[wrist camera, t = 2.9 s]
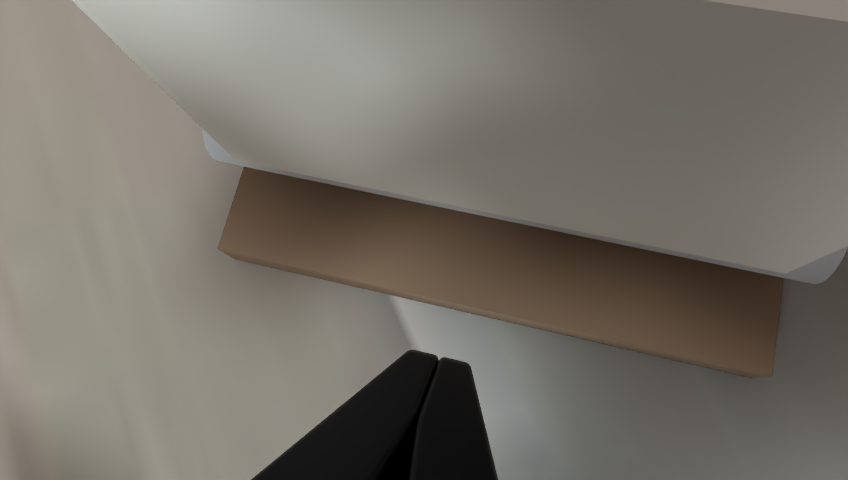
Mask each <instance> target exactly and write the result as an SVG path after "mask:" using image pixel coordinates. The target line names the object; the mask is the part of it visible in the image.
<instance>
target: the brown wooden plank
mask: <svg viewBox="0 0 848 480" xmlns="http://www.w3.org/2000/svg"><path fill="white" fill-rule="evenodd" d="M218 249H219V250H220V251H222V252H224V253H225V254H227V255H229V256H231V257H232V258H234V259H237V260H242V261H246V262H250V263H255V264H259V265H263V266H268V267H272V268H276V269H281V270H285V271H289V272H294V273H298V274H303V275H307V276H311V277H316V278H320V279H324V280H329V281H333V282H337V283H342V284H346V285H350V286H355V287H359V288H363V289H368V290H372V291H377V292H381V293H385V294H390V295H394V296H398V297H403V298H407V299H411V300H416V301H420V302H424V303H429V304H433V305H437V306H442V307H446V308H451V309H455V310H459V311H464V312H468V313H472V314H477V315H481V316H485V317H490V318H494V319H498V320H503V321H507V322H511V323H516V324H520V325H524V326H529V327H533V328H538V329H542V330H546V331H551V332H555V333H559V334H564V335H568V336H572V337H577V338H581V339H585V340H590V341H594V342H598V343H603V344H607V345H612V346H616V347H620V348H625V349H629V350H633V351H638V352H642V353H646V354H651V355H655V356H659V357H664V358H668V359H672V360H677V361H681V362H686V363H690V364H694V365H699V366H703V367H707V368H712V369H716V370H720V371H725V372H729V373H733V374H738V375H742V376H746V377H751V378H753V377H762V376H771V375H772V372H773V364H774V355H775V347H776V338H777V330H778V321H779V313H780V304H781V296H782V287H783V279H784V278H781V277H776V276H771V275H766V274H761V273H757V272H752V271H747V270H742V269H737V268H732V267H728V266H723V265H718V264H713V263H708V262H703V261H698V260H694V259H689V258H684V257H679V256H674V255H669V254H665V253H660V252H655V251H650V250H645V249H640V248H636V247H631V246H626V245H621V244H616V243H611V242H606V241H602V240H597V239H592V238H587V237H582V236H577V235H573V234H568V233H563V232H558V231H553V230H548V229H544V228H539V227H534V226H529V225H524V224H519V223H514V222H510V221H505V220H500V219H495V218H490V217H485V216H481V215H476V214H471V213H466V212H461V211H456V210H452V209H447V208H442V207H437V206H432V205H427V204H422V203H418V202H413V201H408V200H403V199H398V198H393V197H389V196H384V195H379V194H374V193H369V192H364V191H360V190H355V189H350V188H345V187H340V186H335V185H331V184H326V183H321V182H316V181H311V180H306V179H301V178H297V177H292V176H287V175H282V174H277V173H272V172H268V171H263V170H258V169H253V168H248V167H244V169H243V172H242V175H241V178H240V181H239V184H238V187H237V190H236V193H235V197H234V200H233V203H232V206H231V209H230V212H229V215H228V218H227V221H226V224H225V227H224V230H223V233H222V237H221V240H220V243H219V246H218Z"/></svg>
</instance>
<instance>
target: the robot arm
mask: <svg viewBox="0 0 848 480" xmlns="http://www.w3.org/2000/svg"><path fill="white" fill-rule="evenodd" d="M251 480H498V478H497V474H496V470H495V465H494V461H493V457H492V453H491V449H490V445H489V441H488V436H487V432H486V428H485V424H484V420H483V416H482V412H481V407H480V403H479V399H478V395H477V391H476V387H475V383H474V378H473V374H472V370H471V367H470V365H469V364H468V363H466V362H462V361H458V360H454V359H450V358H445V357H443V358H441V359H440V360H438V357H437V356H436V355H433V354H429V353H425V352H421V351H417V350H409V351H407V352H406V353H405V354H404V355H402V356H401V357H400V358H399V359H398V360H396V361H395V362H394V363H393V364H391V365H390V366H389V367H388V368H387V369H385V370H384V371H383V372H382V373H381V374H379V375H378V376H377V377H376V378H374V379H373V380H372V381H371V382H370V383H368V384H367V385H366V386H365V387H363V388H362V389H361V390H360V391H359V392H357V393H356V394H355V395H354V396H353V397H351V398H350V399H349V400H348V401H346V402H345V403H344V404H343V405H342V406H340V407H339V408H338V409H337V410H335V411H334V412H333V413H332V414H331V415H329V416H328V417H327V418H326V419H324V420H323V421H322V422H321V423H320V424H318V425H317V426H316V427H315V428H314V429H312V430H311V431H310V432H309V433H307V434H306V435H305V436H304V437H303V438H301V439H300V440H299V441H298V442H296V443H295V444H294V445H293V446H292V447H290V448H289V449H288V450H287V451H285V452H284V453H283V454H282V455H281V456H279V457H278V458H277V459H276V460H275V461H273V462H272V463H271V464H270V465H268V466H267V467H266V468H265V469H264V470H262V471H261V472H260V473H259V474H257V475H256V476H255V477H254V478H253V479H251Z"/></svg>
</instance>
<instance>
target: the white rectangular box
mask: <svg viewBox="0 0 848 480" xmlns="http://www.w3.org/2000/svg"><path fill="white" fill-rule="evenodd" d="M72 1H73V2H74V3H75V4H76V5H77V6H78V7H79V8H80V9H81V10H82V11H83V12H84V13H85V14H86V15H87V16H88V17H89V18H91V19H92V20H93V21H94V22H95V23H96V24H97V25H98V26H99V27H100V28H101V29H102V30H103V31H104V32H105V33H106V34H107V35H108V36H109V37H110V38H111V39H112V40H113V41H114V42H115V43H116V44H117V45H118V46H119V47H120V48H121V49H122V50H123V51H124V52H125V53H126V54H127V55H128V56H129V57H130V58H131V59H132V60H133V61H134V62H135V63H136V64H137V65H138V66H139V67H140V68H141V69H142V70H143V71H144V72H145V73H146V74H147V75H148V76H149V77H151V78H152V79H153V80H154V81H155V82H156V83H157V84H158V85H159V86H160V87H161V88H162V89H163V90H164V91H165V92H166V93H167V94H168V95H169V96H170V97H171V98H172V99H173V100H174V101H175V102H176V103H177V104H178V105H179V106H180V107H181V108H182V109H183V110H184V111H185V112H186V113H187V114H188V115H189V116H190V117H191V118H192V119H193V120H194V121H195V122H196V123H197V124H198V125H199V126H200V127H201V128H202V132H203V139H204V144H205V147H206V149H207V151H208V153H209V155H210V156H211V157H212V158H213V159H214V160H216V161H219V162H224V163H229V164H234V165H239V166H243V167H248V168H253V169H258V170H263V171H268V172H272V173H277V174H282V175H287V176H292V177H297V178H301V179H306V180H311V181H316V182H321V183H326V184H331V185H335V186H340V187H345V188H350V189H355V190H360V191H364V192H369V193H374V194H379V195H384V196H389V197H393V198H398V199H403V200H408V201H413V202H418V203H422V204H427V205H432V206H437V207H442V208H447V209H452V210H456V211H461V212H466V213H471V214H476V215H481V216H485V217H490V218H495V219H500V220H505V221H510V222H514V223H519V224H524V225H529V226H534V227H539V228H544V229H548V230H553V231H558V232H563V233H568V234H573V235H577V236H582V237H587V238H592V239H597V240H602V241H606V242H611V243H616V244H621V245H626V246H631V247H636V248H640V249H645V250H650V251H655V252H660V253H665V254H669V255H674V256H679V257H684V258H689V259H694V260H698V261H703V262H708V263H713V264H718V265H723V266H728V267H732V268H737V269H742V270H747V271H752V272H757V273H761V274H766V275H771V276H776V277H781V278H786V279H790V280H795V281H800V282H805V283H810V284H820V283H822V282H824V281H825V280H827V279H828V278H829V277H830V276H831V275H832V274H833V273H834V272H835V270H836V269H837V267H838V266H839V264H840V263H841V261H842V259H843V257H844V255H845V253H846V251H847V248H848V0H72Z"/></svg>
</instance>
